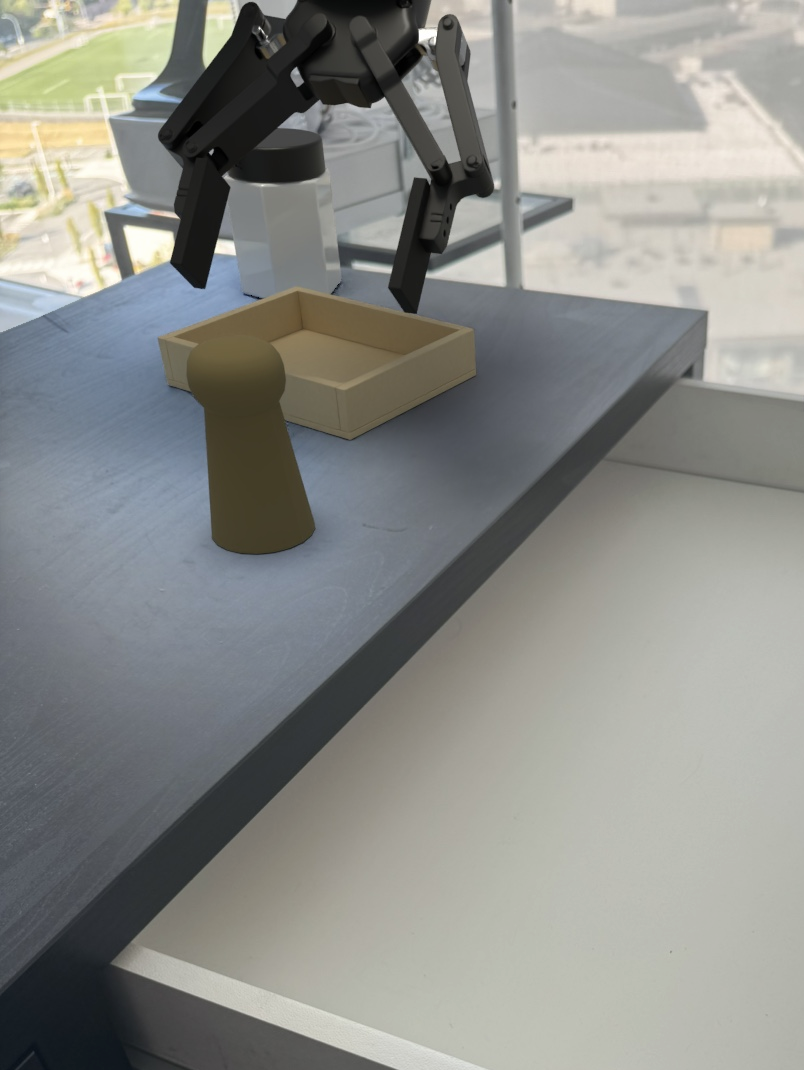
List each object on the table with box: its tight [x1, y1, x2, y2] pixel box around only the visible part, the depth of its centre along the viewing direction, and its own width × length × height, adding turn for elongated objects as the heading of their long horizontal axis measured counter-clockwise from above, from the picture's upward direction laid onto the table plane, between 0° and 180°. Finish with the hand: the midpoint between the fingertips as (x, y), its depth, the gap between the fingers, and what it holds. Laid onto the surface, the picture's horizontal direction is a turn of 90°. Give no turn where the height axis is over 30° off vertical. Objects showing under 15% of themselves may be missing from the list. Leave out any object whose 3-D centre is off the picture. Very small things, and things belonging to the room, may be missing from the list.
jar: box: [223, 127, 342, 299], centre depth 100 cm, size 9×8×12 cm
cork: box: [186, 335, 316, 555], centre depth 66 cm, size 6×6×11 cm
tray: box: [157, 286, 477, 441], centre depth 86 cm, size 18×15×4 cm
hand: (292, 289), depth 67 cm, fingers open, 13 cm apart
